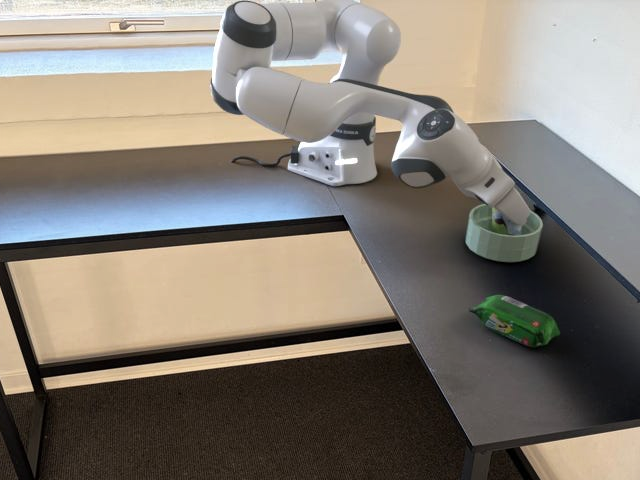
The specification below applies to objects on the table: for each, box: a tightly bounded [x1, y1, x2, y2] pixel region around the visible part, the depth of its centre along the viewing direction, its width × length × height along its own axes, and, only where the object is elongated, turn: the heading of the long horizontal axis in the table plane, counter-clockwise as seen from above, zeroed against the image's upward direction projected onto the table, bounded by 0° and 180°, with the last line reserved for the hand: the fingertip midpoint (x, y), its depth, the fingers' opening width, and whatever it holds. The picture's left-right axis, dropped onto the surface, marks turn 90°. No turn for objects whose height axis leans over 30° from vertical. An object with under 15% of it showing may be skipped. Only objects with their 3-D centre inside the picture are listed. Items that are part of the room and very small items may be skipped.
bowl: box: [465, 203, 544, 263], centre depth 155 cm, size 15×15×6 cm
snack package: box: [468, 294, 561, 348], centre depth 130 cm, size 7×16×5 cm, turn 52°
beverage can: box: [492, 191, 522, 236], centre depth 152 cm, size 6×7×12 cm
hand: (510, 212), depth 152 cm, fingers open, 8 cm apart
